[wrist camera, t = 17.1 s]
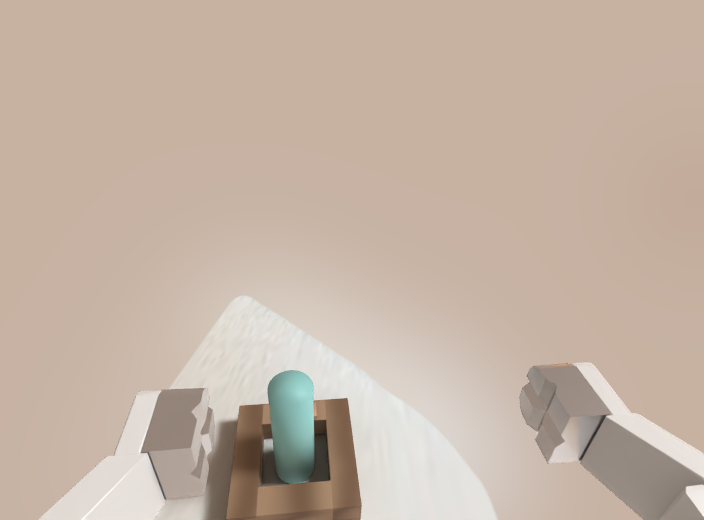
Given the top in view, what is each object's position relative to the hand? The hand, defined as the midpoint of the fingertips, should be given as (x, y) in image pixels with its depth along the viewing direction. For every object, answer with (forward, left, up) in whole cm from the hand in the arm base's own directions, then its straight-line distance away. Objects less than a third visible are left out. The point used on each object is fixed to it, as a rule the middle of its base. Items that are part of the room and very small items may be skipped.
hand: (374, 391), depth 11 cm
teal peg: (-3, +19, -34) cm, 39 cm away
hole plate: (-3, +19, -34) cm, 39 cm away
